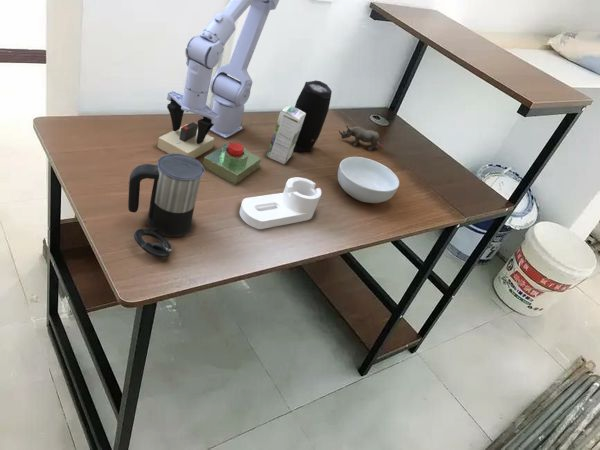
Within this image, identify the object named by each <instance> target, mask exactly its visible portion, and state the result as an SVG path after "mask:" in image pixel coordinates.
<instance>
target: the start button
mask: <svg viewBox="0 0 600 450" xmlns="http://www.w3.org/2000/svg"><path fill="white" fill-rule="evenodd" d="M228 143H229V142H228ZM244 148H245V146H243V144H241V143H239V142H234V141H233V142H231V143H229V145H228V149H227V152H228V153H229V154H231V155H234V156H242V155H243V151H244Z"/></svg>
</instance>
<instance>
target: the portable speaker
mask: <svg viewBox="0 0 600 450" xmlns="http://www.w3.org/2000/svg"><path fill="white" fill-rule="evenodd" d="M331 99H332V89H331V88H330V87H329V86H328V84H327V83H325V82H323V81H320V80H317V79H316V80H310V81H305V82H304V85H303V87H302V89H301V91H300V93H299V95H298V96H297V99H296V102H295V105H294V107H295V108H297V109H299V110H301V111H303V112H305V113H306V115H305V118H304V121H303V124H302V127H301V130H300V133H299V136H298V138H297V141H296V144H295V147H294V150H293V152H294V151H295V152H297V153H301V152H303V151H308V152H311V151H312V149H313V148H314V146H315V144H316V142H317V141H318V138H319V137H320V134H321V132H322V130H323V127H324V124H325V121H326V119H327V115H328V113H329V110H330V103H331Z"/></svg>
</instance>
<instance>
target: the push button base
mask: <svg viewBox="0 0 600 450" xmlns="http://www.w3.org/2000/svg"><path fill="white" fill-rule="evenodd" d="M229 143H232V142H230V141H229V142H228V143H225V144H223V145H222V146H221V147H219V148H217V149H215V150H213V151H212V152H210V153H209V154H206V155H205V156H204V157H203V160H202V165H203V167H204V169H205V170H207V171H209V172H211V173H213V174H214V175H217V176H218V177H220V178H222V179H223V180H226V181H227V182H229V183H231V184H233V185H237V184H238V183H240V182H241V181H242V180H244V179H246V178H247V177H248V176H250V175H251V174H252V173H253V172H255V171H257V170H258V169H259V168H260V165H261V161H262V158H261V157H259V156H258V155H256V154H253V153H251V152H249V151H248V150H247V149H246V148H245V147H244V151H243V155H242V156H234V155H231V154H229V153H228V152H227V149H228V145H229Z"/></svg>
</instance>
